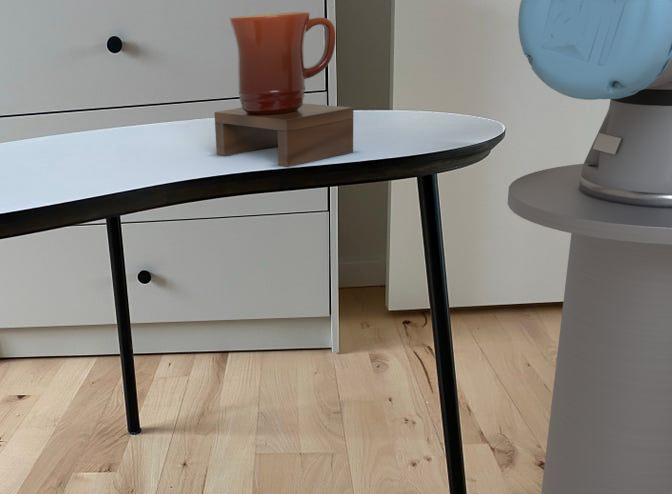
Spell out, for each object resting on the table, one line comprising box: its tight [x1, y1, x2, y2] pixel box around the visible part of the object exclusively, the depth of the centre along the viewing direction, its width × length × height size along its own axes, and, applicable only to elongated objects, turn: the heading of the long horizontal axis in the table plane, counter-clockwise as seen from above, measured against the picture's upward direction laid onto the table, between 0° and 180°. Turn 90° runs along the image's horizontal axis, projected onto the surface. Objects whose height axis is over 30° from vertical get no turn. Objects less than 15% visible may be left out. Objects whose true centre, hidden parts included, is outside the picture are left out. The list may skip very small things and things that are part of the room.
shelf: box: [214, 103, 354, 168], centre depth 97 cm, size 13×10×5 cm
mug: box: [229, 11, 336, 115], centre depth 94 cm, size 12×9×10 cm
